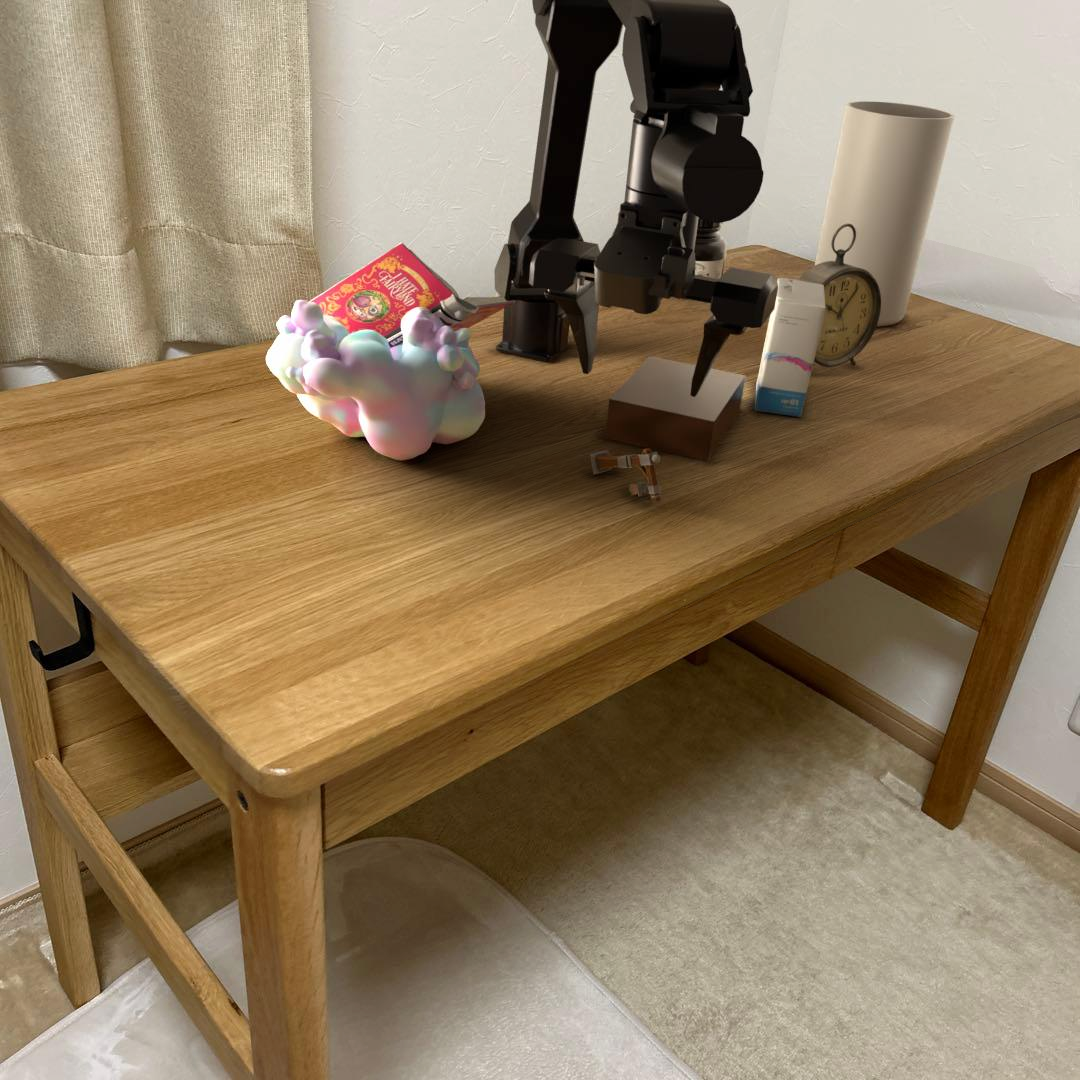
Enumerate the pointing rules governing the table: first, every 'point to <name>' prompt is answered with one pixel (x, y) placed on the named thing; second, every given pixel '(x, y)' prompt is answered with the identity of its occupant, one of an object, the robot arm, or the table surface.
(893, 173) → the cylinder vase
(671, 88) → the robot arm
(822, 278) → the alarm clock
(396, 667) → the table surface
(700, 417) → the walnut block
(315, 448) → the table surface
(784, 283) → the ink box
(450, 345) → the pastel bubbly cloud sculpture
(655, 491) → the grey orange jointed piece
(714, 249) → the ink bottle
